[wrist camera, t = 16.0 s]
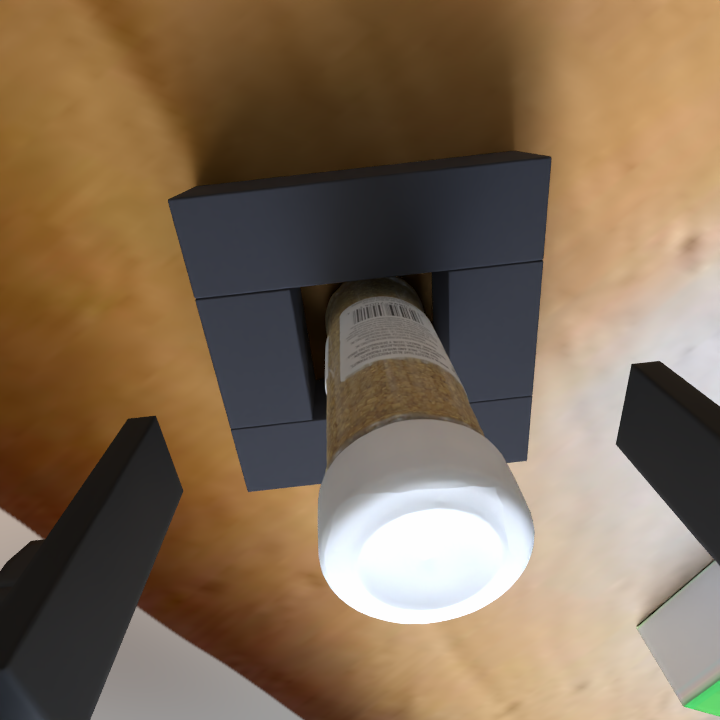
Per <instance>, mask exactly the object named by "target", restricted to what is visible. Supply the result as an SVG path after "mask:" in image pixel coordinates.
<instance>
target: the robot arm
mask: <svg viewBox="0 0 720 720" xmlns="http://www.w3.org/2000/svg"><path fill="white" fill-rule="evenodd" d="M616 445H617V446H618V447H619V449H620V450H621V451H622V452H623V453H624V454H625V456H626V457H627V458H628V459H629V460H630V461H631V463H632V464H633V465H634V466H635V467H636V468H637V470H638V471H639V472H640V473H641V474H642V476H643V477H644V478H645V479H646V480H647V481H648V483H649V484H650V485H651V486H652V487H653V488H654V490H655V491H656V492H657V493H658V494H659V495H660V497H661V498H662V499H663V500H664V501H665V502H666V504H667V505H668V506H669V507H670V508H671V509H672V511H673V512H674V513H675V514H676V515H677V517H678V518H679V519H680V520H681V521H682V522H683V524H684V525H685V526H686V527H687V528H688V529H689V531H690V532H691V533H692V534H693V535H694V536H695V538H696V539H697V540H698V541H699V542H700V543H701V545H702V546H703V547H704V548H705V549H706V550H707V552H708V553H709V554H710V555H711V556H712V558H713V559H714V560H715V561H716V562H717V563H718V565H719V566H720V406H718V405H717V404H716V403H714V402H713V401H712V400H710V399H709V398H708V397H706V396H705V395H704V394H703V393H701V392H700V391H699V390H697V389H696V388H695V387H693V386H692V385H691V384H689V383H688V382H687V381H685V380H684V379H683V378H681V377H680V376H679V375H677V374H676V373H675V372H673V371H672V370H671V369H669V368H668V367H667V366H665V365H664V364H663V363H662V362H660V361H656V362H647V363H637V364H632V365H631V370H630V375H629V380H628V385H627V390H626V396H625V401H624V406H623V411H622V416H621V421H620V426H619V431H618V436H617V441H616ZM182 493H183V489H182V486H181V483H180V481H179V478H178V475H177V472H176V470H175V467H174V464H173V462H172V459H171V456H170V453H169V451H168V448H167V445H166V442H165V440H164V437H163V434H162V432H161V429H160V426H159V423H158V421H157V418H156V416H149V417H140V418H131V419H128V420H127V421H126V423H125V424H124V426H123V427H122V428H121V430H120V431H119V433H118V434H117V436H116V437H115V439H114V440H113V442H112V443H111V445H110V446H109V447H108V449H107V450H106V452H105V453H104V455H103V456H102V458H101V459H100V461H99V462H98V463H97V465H96V466H95V468H94V469H93V471H92V472H91V474H90V475H89V477H88V478H87V479H86V481H85V482H84V484H83V485H82V487H81V488H80V490H79V491H78V493H77V494H76V495H75V497H74V498H73V500H72V501H71V503H70V504H69V506H68V507H67V509H66V510H65V511H64V513H63V514H62V516H61V517H60V519H59V520H58V522H57V523H56V525H55V526H54V528H53V529H52V530H51V532H50V533H49V535H48V536H47V538H46V539H45V540H35V541H30V542H29V543H28V544H27V545H26V546H25V547H24V548H23V549H21V550H20V551H19V552H18V553H17V554H16V555H14V556H13V557H12V558H11V559H10V560H9V561H8V562H7V563H6V564H5V565H4V567H3V568H2V570H1V571H0V720H90V719H91V716H92V714H93V711H94V709H95V706H96V704H97V702H98V699H99V697H100V694H101V692H102V689H103V687H104V684H105V682H106V679H107V677H108V674H109V672H110V670H111V667H112V665H113V662H114V660H115V657H116V655H117V652H118V650H119V648H120V645H121V643H122V640H123V638H124V635H125V633H126V630H127V628H128V625H129V623H130V620H131V618H132V616H133V613H134V611H135V608H136V606H137V603H138V601H139V598H140V596H141V594H142V591H143V589H144V586H145V584H146V581H147V579H148V576H149V574H150V571H151V569H152V567H153V564H154V562H155V559H156V557H157V554H158V552H159V549H160V547H161V544H162V542H163V540H164V537H165V535H166V532H167V530H168V527H169V525H170V522H171V520H172V517H173V515H174V513H175V510H176V508H177V505H178V503H179V500H180V498H181V495H182Z"/></svg>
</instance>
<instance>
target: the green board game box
mask: <svg viewBox="0 0 720 720" xmlns="http://www.w3.org/2000/svg"><path fill="white" fill-rule="evenodd" d="M637 630H638V632H639V633H640V635H641V637H642V638H643V640H644V642H645V643H646V645H647V647H648V648H649V650H650V652H651V653H652V655H653V657H654V658H655V660H656V662H657V663H658V665H659V667H660V668H661V670H662V672H663V673H664V675H665V677H666V678H667V680H668V682H669V683H670V685H671V687H672V688H673V690H674V692H675V693H676V695H677V697H678V698H679V700H680V702H681V703H682V705H683V706H684V707H687V708H691V709H694V710H698V711H702V712H705V713H709V714H712V715H716V716H720V566H719V565H718V563H717V562H716V561H714V562H712V563H711V564H710V565H709V566H708V567H707V568H706V569H704V570H703V571H702V572H701V573H700V574H699V575H697V576H696V577H695V578H694V579H693V580H692V581H690V582H689V583H688V584H687V585H686V586H685V587H683V588H682V589H681V590H680V591H679V592H678V593H676V594H675V595H674V596H673V597H672V598H671V599H669V600H668V601H667V602H666V603H665V604H664V605H662V606H661V607H660V608H659V609H658V610H657V611H655V612H654V613H653V614H652V615H651V616H650V617H648V618H647V619H646V620H645V621H644V622H643V623H642V624H640V625H639V626H638V627H637Z"/></svg>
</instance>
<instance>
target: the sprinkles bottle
mask: <svg viewBox="0 0 720 720" xmlns="http://www.w3.org/2000/svg"><path fill="white" fill-rule="evenodd" d="M325 319H326V321H325V323H326V333H327V341H326V349H325V390H326V395H327V419H326V420H327V428H326V433H327V467H326V471H325V476H324V478H323V481H322V484H321V487H320V490H319V498H318V549H319V560H320V566H321V569H322V573H323V575H324V577H325V579H326V581H327V582H328V584H329V586H330V587H331V589H332V590H333V591H334V592H335V594H336V595H337V596H338V597H339V598H340V599H342V600H343V601H344V602H345V603H347V604H348V605H350V606H351V607H353V608H354V609H356V610H357V611H360V612H362V613H364V614H366V615H369V616H371V617H375V618H378V619H381V620H386V621H390V622H395V623H404V624H425V623H433V622H440V621H445V620H449V619H453V618H457V617H460V616H463V615H466V614H469V613H471V612H474V611H476V610H478V609H480V608H482V607H484V606H486V605H487V604H489V603H491V602H492V601H494V600H495V599H497V598H498V597H499V596H501V595H502V594H503V593H504V592H506V591H507V590H508V589H509V588H510V587H511V586H512V585H513V584H514V583H515V581H516V580H517V579H518V578H519V576H520V575H521V573H522V572H523V570H524V569H525V567H526V565H527V563H528V561H529V559H530V556H531V553H532V550H533V545H534V533H535V532H534V525H533V520H532V516H531V513H530V510H529V508H528V506H527V504H526V502H525V499H524V497H523V495H522V493H521V491H520V488H519V486H518V484H517V482H516V480H515V478H514V476H513V474H512V472H511V470H510V468H509V467H508V465H507V463H506V461H505V459H504V457H503V455H502V454H501V453H500V452H499V450H498V449H497V448H496V447H495V446H494V445H493V444H492V443H491V442H490V441H489V440H488V439H487V438H485V436H484V433H483V431H482V429H481V428H480V426H479V423H478V421H477V418H476V416H475V414H474V412H473V410H472V408H471V407H470V404H469V400H468V397H467V394H466V392H465V390H464V388H463V385H462V383H461V382H460V380H459V378H458V376H457V374H456V372H455V370H454V368H453V366H452V364H451V361H450V359H449V357H448V355H447V354H446V352H445V350H444V348H443V346H442V344H441V342H440V340H439V338H438V336H437V334H436V332H435V330H434V328H433V326H432V324H431V322H430V321H429V319H428V318H427V317H426V315H425V314H424V309H423V305H422V302H421V301H420V299H419V296H418V294H417V293H416V291H415V290H414V289H413V288H412V287H411V286H410V285H409V284H408V283H407V282H406V281H404V280H403V279H401V278H399V277H397V276H394V277H385V278H376V279H367V280H358V281H349V282H345V283H343V284H342V285H341V286H340V288H339V289H337V290H336V292H335V293H334V294H333V295H332V297H331V298H330V300H329V303H328V306H327V310H326V314H325Z"/></svg>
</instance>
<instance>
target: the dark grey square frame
mask: <svg viewBox="0 0 720 720" xmlns="http://www.w3.org/2000/svg"><path fill="white" fill-rule="evenodd" d="M550 170H551V157H550V156H545V155H538V154H532V153H525V152H519V151H508V152H499V153H490V154H481V155H472V156H463V157H454V158H445V159H436V160H427V161H418V162H410V163H401V164H392V165H383V166H374V167H365V168H356V169H347V170H338V171H329V172H320V173H311V174H302V175H293V176H284V177H275V178H266V179H257V180H249V181H240V182H231V183H222V184H213V185H204V186H196V187H194V188H192V189H189V190H187V191H185V192H183V193H181V194H179V195H177V196H174V197H172V198H170V199H168V203H169V207H170V210H171V214H172V218H173V221H174V225H175V229H176V232H177V236H178V239H179V243H180V247H181V250H182V254H183V258H184V261H185V265H186V269H187V272H188V276H189V279H190V283H191V287H192V290H193V294H194V297H195V298H196V300H195V301H196V305H197V308H198V312H199V316H200V319H201V323H202V326H203V330H204V334H205V337H206V341H207V345H208V348H209V352H210V356H211V359H212V363H213V366H214V370H215V374H216V377H217V381H218V385H219V388H220V392H221V395H222V399H223V403H224V406H225V410H226V414H227V417H228V421H229V424H230V428H231V432H232V436H233V439H234V443H235V447H236V450H237V454H238V458H239V461H240V465H241V468H242V472H243V476H244V479H245V483H246V487H247V490H248V492H252V491H260V490H269V489H278V488H287V487H296V486H305V485H314V484H322V481H323V478H324V476H325V471H326V467H327V433H326V428H327V420H326V419H327V395H326V390H325V379H321V380H315V373H314V367H313V361H312V355H311V349H310V343H309V336H308V330H307V324H306V318H305V312H304V306H303V300H302V294H301V288H300V287H305V286H313V285H322V284H331V283H340V282H349V281H358V280H367V279H376V278H385V277H394V276H403V275H412V274H421V273H430V272H432V305H433V328H434V330H435V332H436V334H437V336H438V338H439V340H440V342H441V344H442V346H443V348H444V350H445V352H446V354H447V355H448V357H449V359H450V361H451V364H452V366H453V368H454V370H455V372H456V374H457V376H458V378H459V380H460V382H461V383H462V385H463V388H464V390H465V392H466V394H467V397H468V400H469V404H470V407H471V408H472V410H473V412H474V414H475V416H476V418H477V421H478V423H479V426H480V428H481V429H482V431H483V433H484V436H485V438H487V439H488V440H489V441H490V442H491V443H492V444H493V445H494V446H495V447H496V448H497V449H498V450H499V452H500V453H501V454H502V455H503V457H504V459H505V461H506V463H511V462H520V461H527V453H528V441H529V429H530V417H531V404H532V392H533V380H534V368H535V355H536V343H537V331H538V319H539V306H540V294H541V282H542V270H543V260H542V259H543V255H544V243H545V231H546V219H547V206H548V194H549V182H550Z"/></svg>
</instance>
